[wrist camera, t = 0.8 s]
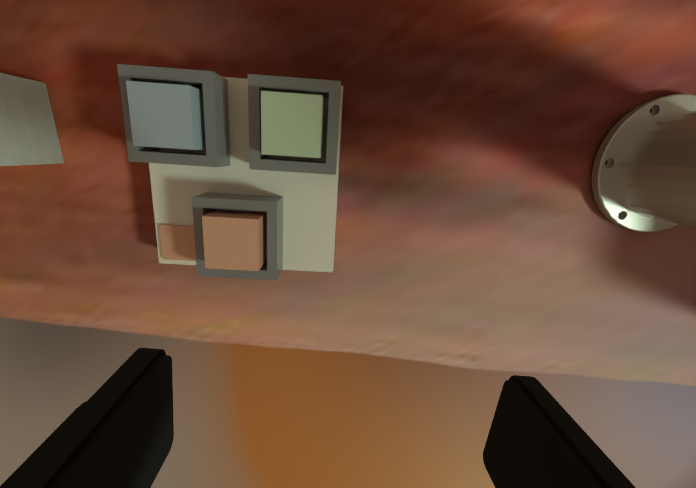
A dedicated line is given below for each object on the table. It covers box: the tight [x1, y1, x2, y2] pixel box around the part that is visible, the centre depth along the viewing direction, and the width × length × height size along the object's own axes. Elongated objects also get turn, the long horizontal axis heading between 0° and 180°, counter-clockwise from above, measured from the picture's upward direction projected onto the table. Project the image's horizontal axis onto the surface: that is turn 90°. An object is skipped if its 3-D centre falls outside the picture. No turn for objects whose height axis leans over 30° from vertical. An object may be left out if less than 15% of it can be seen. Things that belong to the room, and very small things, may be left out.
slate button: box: [126, 81, 206, 150], centre depth 24 cm, size 4×4×2 cm
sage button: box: [261, 91, 324, 158], centre depth 24 cm, size 4×4×2 cm
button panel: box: [117, 64, 343, 280], centre depth 28 cm, size 16×16×6 cm
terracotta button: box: [202, 210, 265, 271], centre depth 26 cm, size 4×4×2 cm
